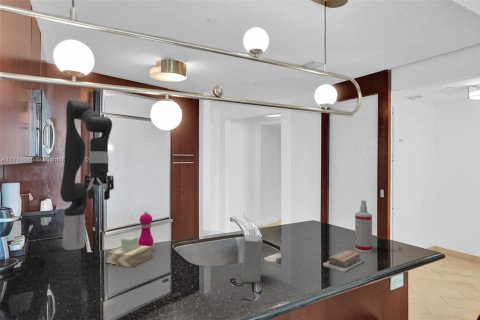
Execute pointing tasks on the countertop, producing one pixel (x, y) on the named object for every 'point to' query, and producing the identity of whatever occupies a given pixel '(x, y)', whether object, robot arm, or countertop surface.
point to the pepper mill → (146, 230)
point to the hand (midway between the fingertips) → (98, 199)
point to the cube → (129, 243)
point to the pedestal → (129, 256)
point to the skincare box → (252, 258)
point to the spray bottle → (363, 229)
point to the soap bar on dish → (344, 261)
